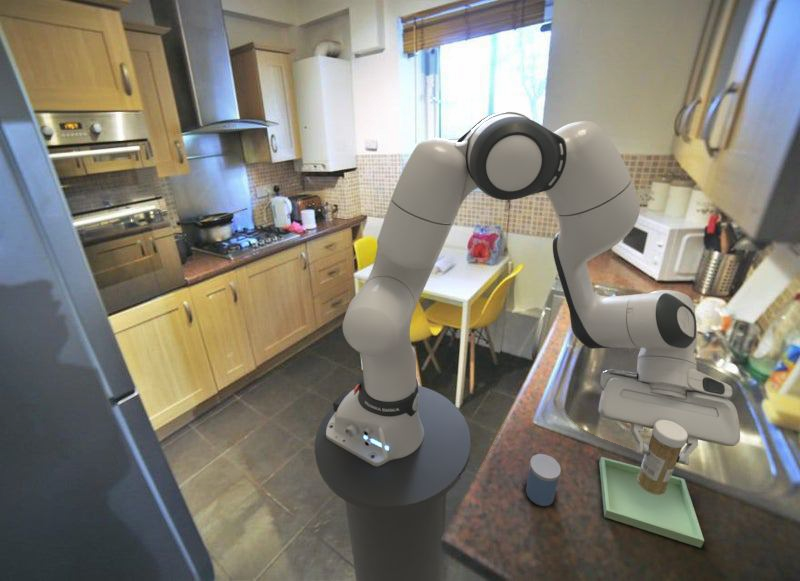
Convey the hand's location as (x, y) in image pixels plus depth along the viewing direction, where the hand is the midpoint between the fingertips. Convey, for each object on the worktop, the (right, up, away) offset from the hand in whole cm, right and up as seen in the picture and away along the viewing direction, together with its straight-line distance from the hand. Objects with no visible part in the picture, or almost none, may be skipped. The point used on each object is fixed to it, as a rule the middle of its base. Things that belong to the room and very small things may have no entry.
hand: (662, 458), depth 62 cm
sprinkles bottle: (0, -6, +4) cm, 7 cm away
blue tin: (-18, -10, +7) cm, 22 cm away
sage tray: (+1, -10, +5) cm, 12 cm away
